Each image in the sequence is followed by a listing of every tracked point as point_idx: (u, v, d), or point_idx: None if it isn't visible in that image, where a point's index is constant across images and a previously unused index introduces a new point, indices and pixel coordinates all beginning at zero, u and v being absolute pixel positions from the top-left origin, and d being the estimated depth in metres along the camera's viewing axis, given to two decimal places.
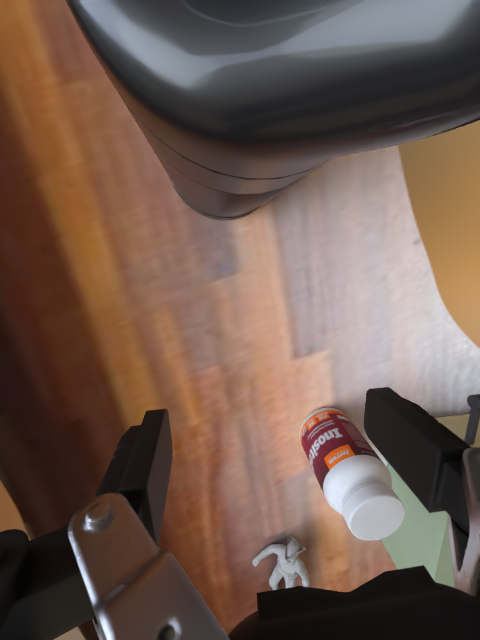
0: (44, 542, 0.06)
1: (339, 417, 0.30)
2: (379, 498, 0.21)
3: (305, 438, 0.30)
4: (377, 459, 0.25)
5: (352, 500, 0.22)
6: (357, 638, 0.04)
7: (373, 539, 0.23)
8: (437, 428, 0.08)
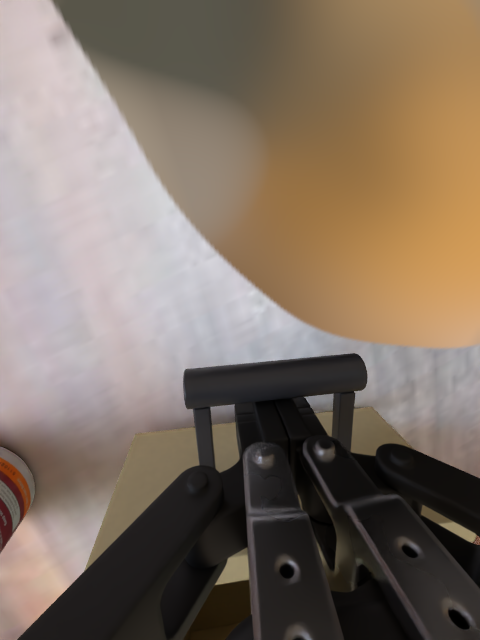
0: None
1: None
2: None
3: None
4: None
5: None
6: (357, 638, 0.04)
7: None
8: (300, 418, 0.09)
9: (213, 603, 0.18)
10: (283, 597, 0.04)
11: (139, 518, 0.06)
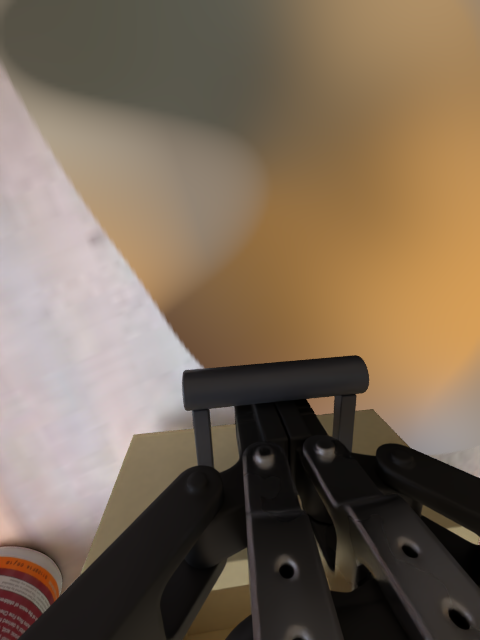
0: None
1: None
2: None
3: None
4: None
5: None
6: (357, 638, 0.04)
7: None
8: (300, 418, 0.09)
9: (211, 606, 0.18)
10: (283, 597, 0.04)
11: (139, 518, 0.06)
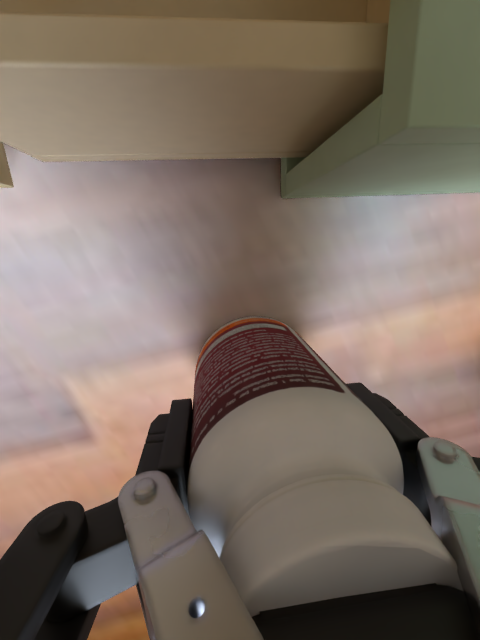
0: (95, 514, 0.07)
1: (195, 378, 0.13)
2: None
3: None
4: (201, 447, 0.07)
5: None
6: (357, 638, 0.04)
7: None
8: (399, 420, 0.09)
9: None
10: None
11: None
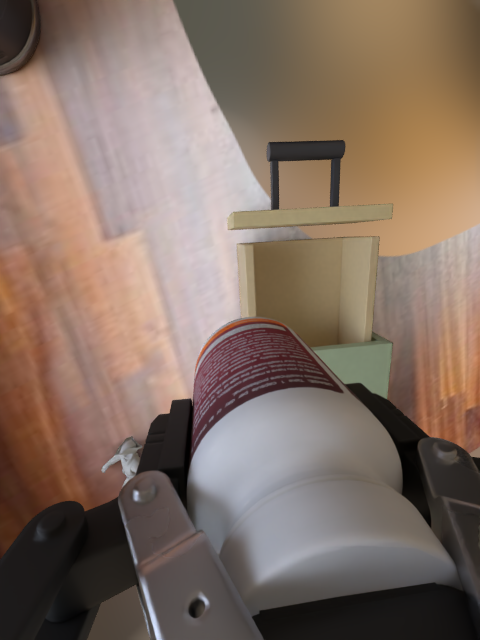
0: (95, 515, 0.07)
1: None
2: None
3: None
4: (200, 447, 0.07)
5: None
6: (357, 638, 0.04)
7: None
8: (399, 420, 0.09)
9: None
10: None
11: None
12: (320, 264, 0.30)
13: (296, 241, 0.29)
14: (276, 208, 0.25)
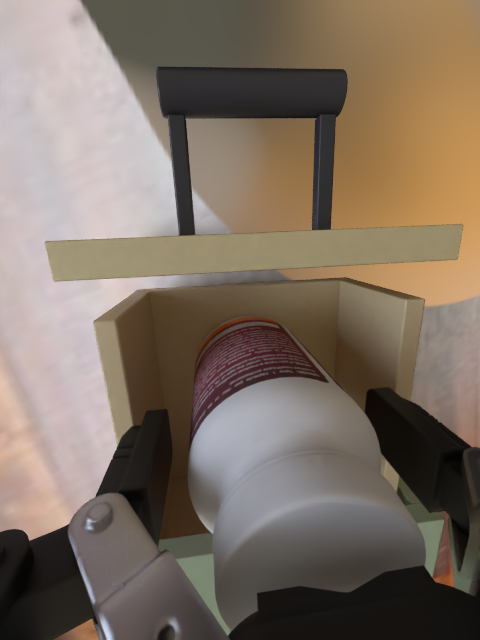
0: (44, 542, 0.06)
1: None
2: (226, 602, 0.06)
3: None
4: (200, 430, 0.08)
5: None
6: (357, 638, 0.04)
7: None
8: (437, 428, 0.08)
9: None
10: None
11: None
12: (298, 328, 0.16)
13: (251, 287, 0.15)
14: (187, 228, 0.11)
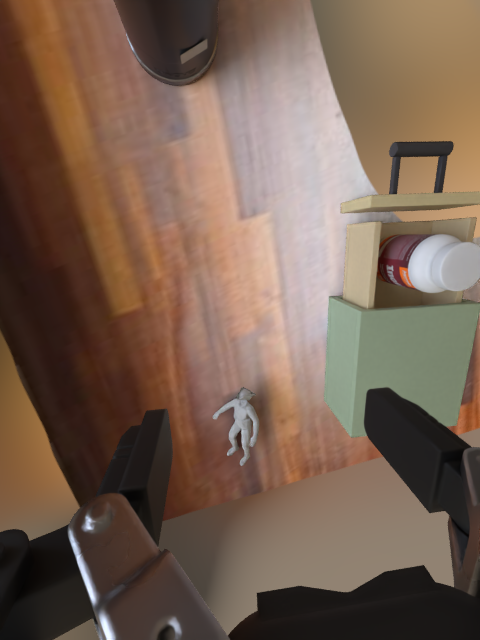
0: (45, 542, 0.06)
1: (379, 255, 0.34)
2: (443, 269, 0.26)
3: None
4: (416, 249, 0.29)
5: (440, 286, 0.28)
6: (357, 638, 0.04)
7: None
8: (437, 428, 0.08)
9: None
10: None
11: None
12: None
13: (396, 223, 0.36)
14: (394, 194, 0.31)
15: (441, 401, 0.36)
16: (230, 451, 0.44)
